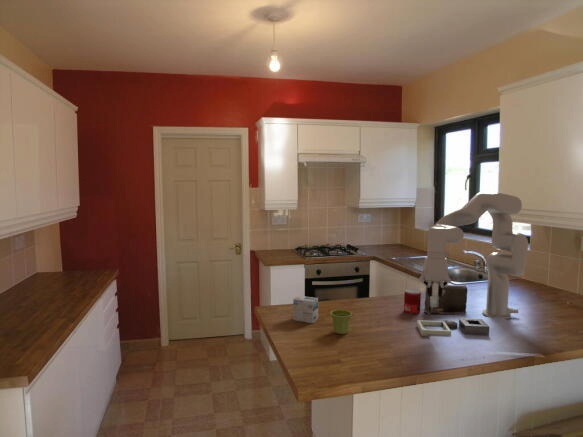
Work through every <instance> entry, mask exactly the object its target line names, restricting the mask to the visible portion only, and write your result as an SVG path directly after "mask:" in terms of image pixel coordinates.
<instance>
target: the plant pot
mask: <svg viewBox="0 0 583 437" xmlns="http://www.w3.org/2000/svg"><path fill="white" fill-rule="evenodd" d="M330 315H331V318H332V326H333V333H336V334H340V335H345V334H347V333H349V326H350V320H351V318H352V317H351V316H352V315H353V313H352V312H351V311H349V310H345V309H335V310H331V311H330Z"/></svg>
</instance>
